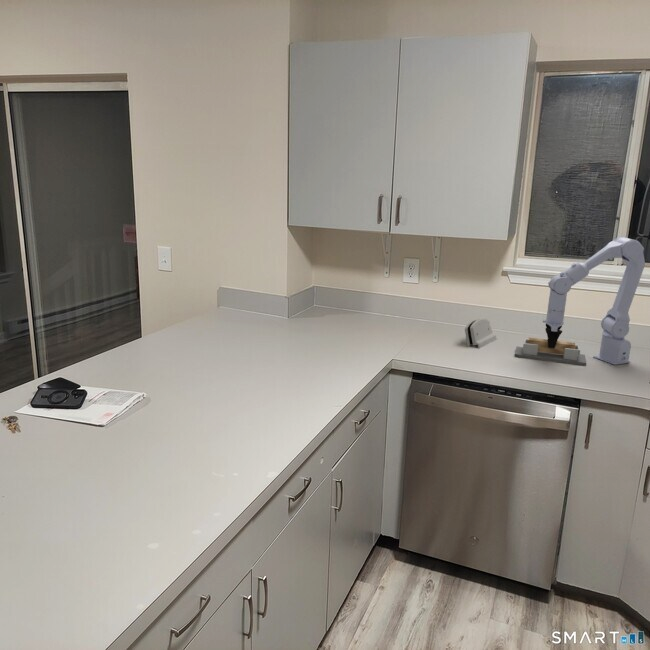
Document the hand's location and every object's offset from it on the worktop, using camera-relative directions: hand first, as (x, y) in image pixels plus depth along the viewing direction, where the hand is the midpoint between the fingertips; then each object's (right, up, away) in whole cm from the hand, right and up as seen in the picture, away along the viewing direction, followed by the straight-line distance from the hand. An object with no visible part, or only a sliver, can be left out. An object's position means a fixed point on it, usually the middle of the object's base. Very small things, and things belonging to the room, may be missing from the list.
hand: (551, 345), depth 214 cm
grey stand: (-22, +1, +18) cm, 28 cm away
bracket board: (0, -4, +1) cm, 4 cm away
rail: (0, -2, +1) cm, 2 cm away
